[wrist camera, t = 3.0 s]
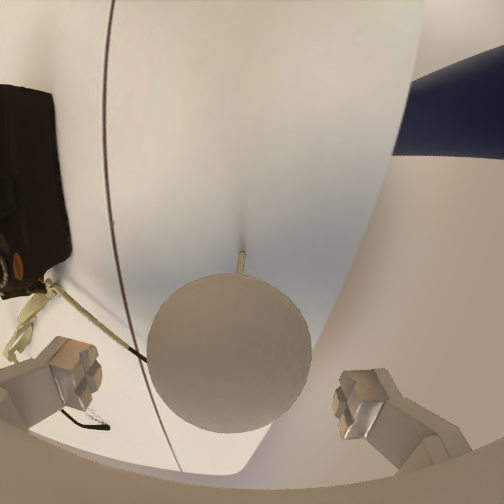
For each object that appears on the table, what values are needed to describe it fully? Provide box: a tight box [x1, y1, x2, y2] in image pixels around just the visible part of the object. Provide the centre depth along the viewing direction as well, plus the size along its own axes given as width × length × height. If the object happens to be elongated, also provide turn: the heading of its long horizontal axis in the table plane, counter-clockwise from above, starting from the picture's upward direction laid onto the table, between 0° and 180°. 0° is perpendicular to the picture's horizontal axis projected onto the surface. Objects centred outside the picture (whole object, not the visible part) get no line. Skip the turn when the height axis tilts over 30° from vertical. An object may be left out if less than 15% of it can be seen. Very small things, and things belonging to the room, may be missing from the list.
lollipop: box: [147, 252, 312, 433], centre depth 15 cm, size 6×6×15 cm
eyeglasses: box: [3, 278, 147, 431], centre depth 23 cm, size 17×15×5 cm
